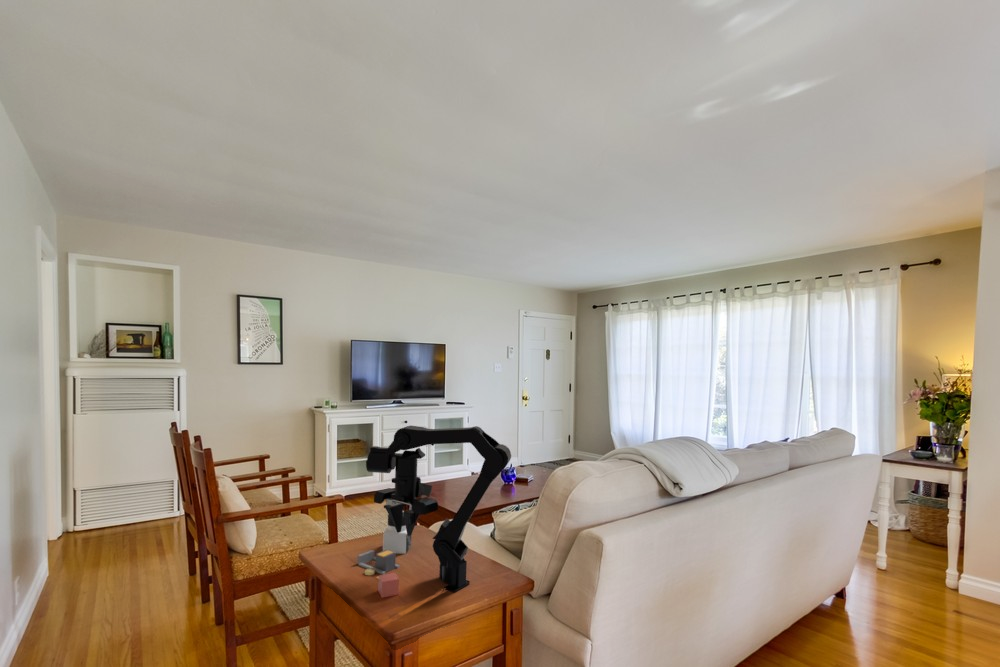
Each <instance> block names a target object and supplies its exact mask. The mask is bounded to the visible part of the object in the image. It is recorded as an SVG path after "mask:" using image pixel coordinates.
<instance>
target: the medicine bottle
mask: <svg viewBox="0 0 1000 667" xmlns="http://www.w3.org/2000/svg"><path fill="white" fill-rule="evenodd" d="M404 511H405V510H403V516H402V528H401V532H399V533H398V532H397V531H396V529H395V527H394V524H393V522H392V520H391V518H390V516H389V514H388V515H387V527H386V529H385V530H384V531H383V533H382V534H383V535H382V551H384V550H388V551H391V552H394V553H396V554H405V555H406V554H407V553H408V552H409V550H410V548H411V546H412V535H410V536H408V535H407V531H406V525H405V518H404Z"/></svg>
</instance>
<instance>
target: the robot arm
mask: <svg viewBox="0 0 1000 667" xmlns="http://www.w3.org/2000/svg"><path fill="white" fill-rule="evenodd" d="M469 443H470V444H471V445H472V446H473V447H474V448H475V449H476V451H477V452H478V454H479V455H480V456H481V457H483V459H484V461H483V463H482V465H481V469H480V473H479V475H478V477H477V478H476V481H475V482H474V484H472V487H471V489H469V492H468V493H467V495H466V496H465V499H464V500H463V501H462V503H461V505H460V506H459V508H458V509H457V511H456V513H455V515H454V517H453V518H452V519H451V520H450V519H449V518H448V517H447V518H446V519H445V520H444V521H443V522H442V523H441V525H440V527H439V529H438V531H437V532H436V533H435V534H434V536H433V537H432V539H433V543H432V549H433V552H434V554H435V555H436V556H437V557H438V561H439V573H438V574H439V577H438V579H440V580H441V581H442V583H444V584H446V586H444V587H443V589H444V590H445V589H446V590H448V591H450V592H453V593H456V592H458V591H459V590H461V589H463V588H464V587H466V586H468V585H470V583H471V582H470V580H467V561H468V560H465V556H466V555H467V553H468V550H469V547H468V546H467V544H466V543H465V542H464V541H463V540H462V537H463V535H464V532H465V529H466V526H467V523H468V522H469V520H470V519H471V517H472V515H473V513H474V512H475V510H476V508H478V506H479V504H480V502H481V501H482V499H483V497H484V495H485V494H486V492H487V490H488V489H489V488H490V485H491V484H492V482H494V481H495V480H496V479H497V477H498V476H500V474H501V473H502V472H503V471H504V469H505V468H506V467H507V465H509V463H510V461H511V459H512V453H511V450H510V448H509V447H508V446H507V445H505V444H502V443H501V444H500V443H499V442H498V441H497V440H496V439H494V438H493V437H492V436H491V435H489V434H488V433H486V432H485V431H484V430H483V429H482V427H481V426H472V427H471V426H470V427H469V426H468V427H451V428H450V427H449V428H428V427H427V428H426V427H424V426H417V425H407V426H404V427H402V428H399V429H397V430H396V432H395V433H394V435H393V440H392V442H391V443H390V444H389V445H388V447H385V446H384V447H382V446H376V445H374V446H371V447H369V449H370V450H369V453H368V456H367V457H366V458H367V459H366V460H365V467H366V471H367V472H368V473H378V474H379V473H380V474H390V473H391V472H392V470H393V471H395V473H394V477H392V478H391V483H392V484H394V489H393V488H389V487H388V488H385V489H384V488H383V489H381V490H377V491H376V492H375V493H374V494H373V503H375V504H379V505H380V504H381V505H382V504H383V503H384V502H385V504H384V505H383V509H385V510H386V512H387V514H388V515H389V516H390V518H391V520H392V522H393V524H394V527H395V529H396V531H397V532H398V533H399V532H401V528H402V516H403V511H404V518H405V525H406V531H407V535H408V536H410V535H411V536H413V535H412V534H413V532H414V529H415V527H416V524H417V521H418V519H419V517H420V515H421V516H425V515H428V514H431V513H433V512H436V511H438V510H439V502H438V500H437V499H436V498H433V497H431V493H432V489H433V485H431V484H428V483H423V482H421V481H422V480H421V477H420V476H418V459H419V460H420V459H422V458H424V457H426V453H424V451H422V450H421V448H420V447H423V446H427V445H441V444H442V445H447V444H469ZM415 448H416V449H415ZM412 449H415V450H412ZM400 451H403V452H401V453H400ZM398 452H399V453H398ZM422 496H425V497H422ZM406 506H409V507H408V509H407V510H404V509H405V507H406Z"/></svg>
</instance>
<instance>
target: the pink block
mask: <svg viewBox="0 0 1000 667" xmlns="http://www.w3.org/2000/svg"><path fill="white" fill-rule="evenodd" d="M378 576H379V579H378V586H377V587H378V588H377V591H378V593H379V595H380V597H381V598H387V597H392V596H398V595H399V592H400V591H399V588H400V587H399V586H400V585H399V584H400V578H399V576H398V575H397V574H396V572H390V573H386V574H384V575H382V574H379V575H378Z"/></svg>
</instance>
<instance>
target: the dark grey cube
mask: <svg viewBox="0 0 1000 667" xmlns="http://www.w3.org/2000/svg"><path fill="white" fill-rule="evenodd" d="M396 556H397V553H394V552H391V551H388V550H384V551H383V550H381V551H380V552H376V553H375V557H376V560H374V561H375V562H374V566H375V567H374V568H377V569H380V570H382V571H385V572H386V573H388V572H390V570H391V571H392V570H393V571H394V570H395V569H396V568H395V564H396Z"/></svg>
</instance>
